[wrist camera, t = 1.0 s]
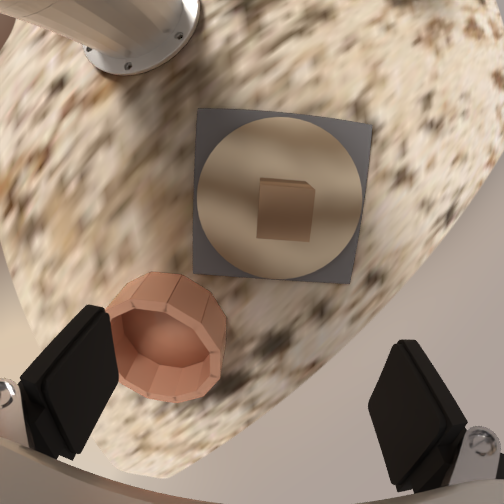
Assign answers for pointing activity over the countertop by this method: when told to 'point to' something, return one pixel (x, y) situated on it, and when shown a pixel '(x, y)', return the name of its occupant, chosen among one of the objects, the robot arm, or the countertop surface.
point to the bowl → (167, 337)
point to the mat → (227, 120)
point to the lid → (279, 198)
